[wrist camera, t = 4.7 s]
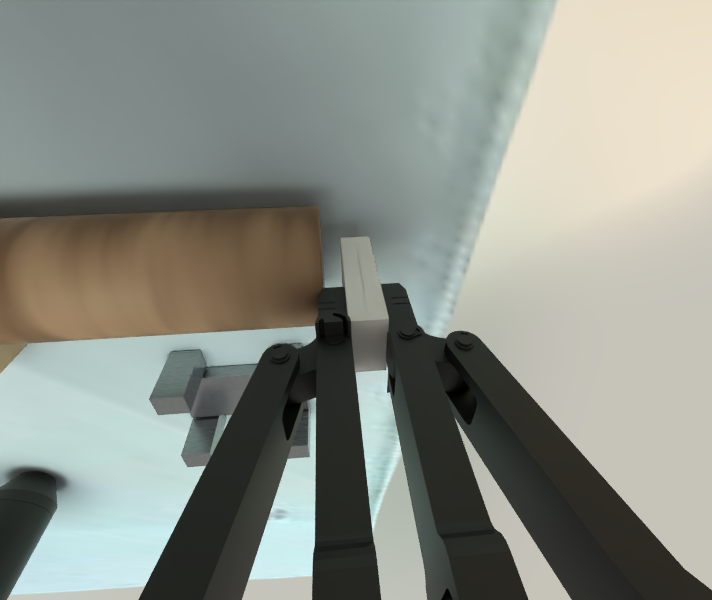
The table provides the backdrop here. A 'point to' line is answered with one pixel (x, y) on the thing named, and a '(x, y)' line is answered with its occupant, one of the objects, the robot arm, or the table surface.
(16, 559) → the microphone
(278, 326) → the axle
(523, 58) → the table surface
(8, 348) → the wooden arch block
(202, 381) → the grey h-shaped block
